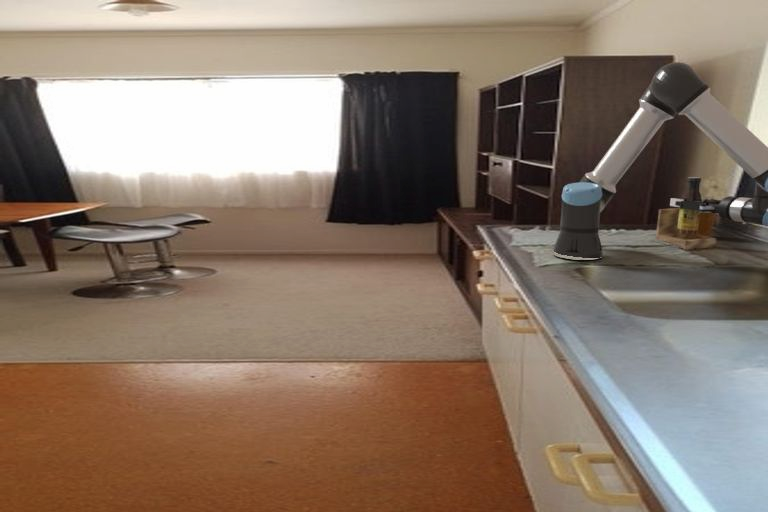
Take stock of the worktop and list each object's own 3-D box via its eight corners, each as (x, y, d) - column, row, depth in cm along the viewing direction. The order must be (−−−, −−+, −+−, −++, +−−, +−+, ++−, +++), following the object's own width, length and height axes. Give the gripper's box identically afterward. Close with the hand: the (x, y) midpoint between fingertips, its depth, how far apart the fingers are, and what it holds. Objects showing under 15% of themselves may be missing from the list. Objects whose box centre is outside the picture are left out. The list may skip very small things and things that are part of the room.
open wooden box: (684, 249, 167) (689, 214, 165) (655, 241, 180) (658, 209, 177) (715, 246, 170) (720, 212, 167) (684, 239, 183) (688, 207, 180)
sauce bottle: (680, 235, 171) (686, 178, 167) (673, 232, 177) (678, 177, 173) (701, 235, 170) (707, 177, 166) (693, 232, 176) (699, 176, 172)
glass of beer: (686, 233, 194) (690, 203, 191) (715, 236, 189) (719, 204, 186) (683, 237, 187) (687, 206, 184) (713, 240, 181) (718, 207, 178)
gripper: (711, 222, 153) (655, 213, 175) (760, 219, 157) (700, 210, 179) (713, 198, 151) (657, 192, 173) (763, 195, 155) (702, 189, 177)
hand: (679, 201), depth 176 cm, fingers closed on sauce bottle, 6 cm apart
